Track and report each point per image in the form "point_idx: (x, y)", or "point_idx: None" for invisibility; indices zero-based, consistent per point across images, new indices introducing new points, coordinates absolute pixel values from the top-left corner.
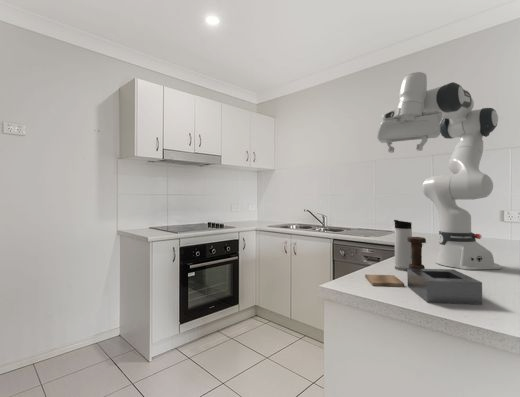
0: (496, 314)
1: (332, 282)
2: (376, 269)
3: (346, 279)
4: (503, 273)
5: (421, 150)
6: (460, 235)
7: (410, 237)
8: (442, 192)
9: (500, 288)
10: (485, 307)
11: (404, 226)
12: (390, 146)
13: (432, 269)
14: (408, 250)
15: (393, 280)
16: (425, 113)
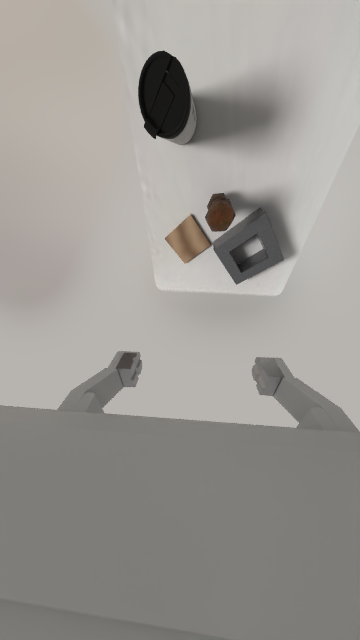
0: (281, 268)
1: (155, 276)
2: (152, 177)
3: (157, 259)
4: None
5: (275, 359)
6: None
7: (211, 222)
8: None
9: (329, 148)
10: None
11: (178, 133)
12: (122, 387)
13: (240, 235)
14: (191, 130)
15: (198, 241)
16: None
